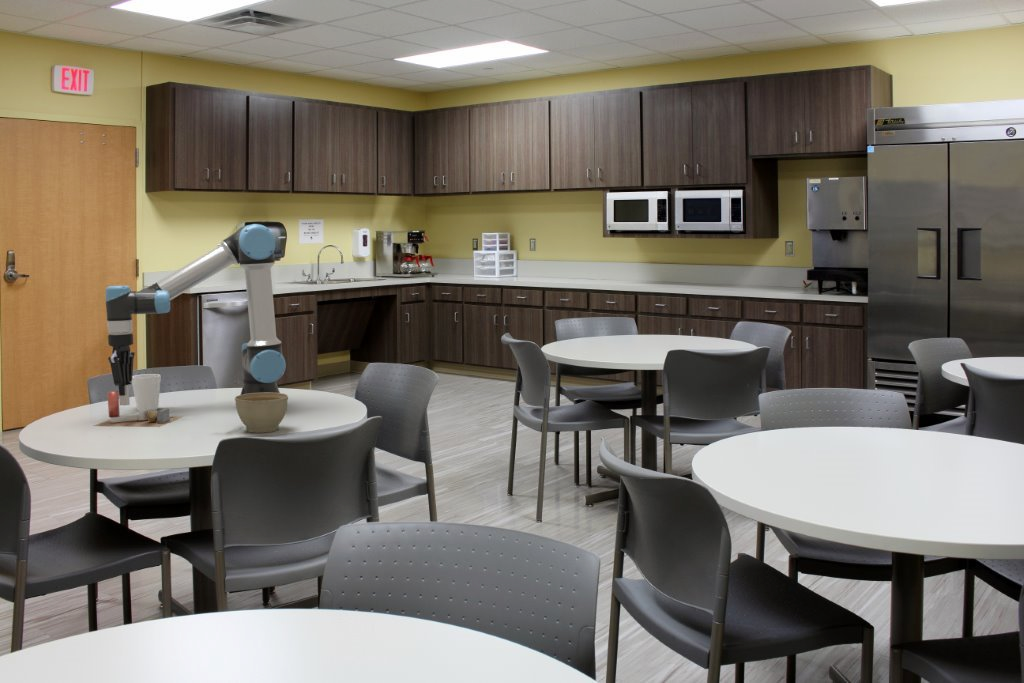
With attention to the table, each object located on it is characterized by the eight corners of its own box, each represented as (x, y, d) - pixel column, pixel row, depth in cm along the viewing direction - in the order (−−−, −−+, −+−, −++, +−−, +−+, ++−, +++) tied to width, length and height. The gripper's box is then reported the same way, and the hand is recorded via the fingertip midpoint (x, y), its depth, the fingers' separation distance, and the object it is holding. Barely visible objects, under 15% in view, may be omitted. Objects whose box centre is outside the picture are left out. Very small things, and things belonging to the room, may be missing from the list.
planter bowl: (261, 437, 286) (260, 402, 285) (225, 432, 295) (223, 397, 294) (300, 428, 300) (298, 394, 299) (263, 423, 308) (262, 390, 307)
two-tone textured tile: (169, 421, 306) (169, 408, 305) (163, 423, 301) (162, 411, 301) (163, 420, 306) (163, 408, 305) (157, 423, 302) (156, 411, 301)
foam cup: (168, 411, 330) (166, 375, 329) (147, 416, 322) (146, 378, 321) (148, 409, 334) (146, 373, 333) (127, 414, 326) (125, 377, 325)
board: (183, 421, 313) (183, 406, 313) (159, 431, 297) (158, 416, 296) (120, 420, 316) (119, 405, 315) (92, 430, 299) (92, 415, 298)
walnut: (161, 421, 306) (160, 410, 305) (155, 423, 302) (155, 412, 302) (150, 421, 306) (150, 410, 306) (145, 423, 302) (144, 412, 302)
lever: (167, 415, 313) (165, 386, 312) (169, 418, 309) (168, 388, 308) (108, 421, 304) (106, 391, 303) (110, 423, 300) (108, 393, 299)
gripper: (119, 331, 314) (123, 401, 317) (98, 335, 301) (103, 408, 304) (141, 331, 313) (145, 401, 316) (121, 335, 300) (125, 408, 303)
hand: (124, 404), depth 310 cm, fingers closed
